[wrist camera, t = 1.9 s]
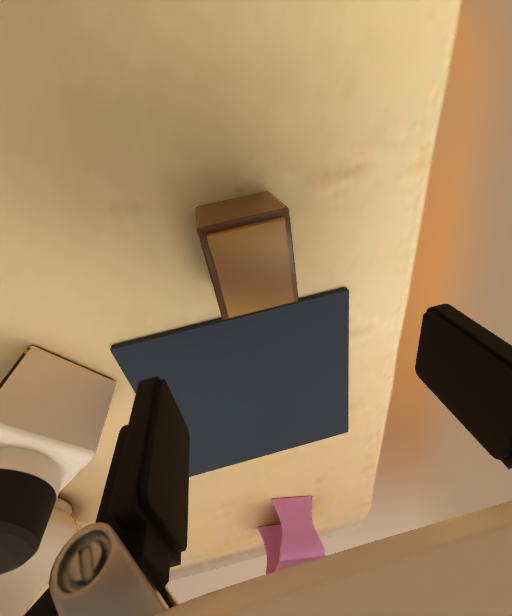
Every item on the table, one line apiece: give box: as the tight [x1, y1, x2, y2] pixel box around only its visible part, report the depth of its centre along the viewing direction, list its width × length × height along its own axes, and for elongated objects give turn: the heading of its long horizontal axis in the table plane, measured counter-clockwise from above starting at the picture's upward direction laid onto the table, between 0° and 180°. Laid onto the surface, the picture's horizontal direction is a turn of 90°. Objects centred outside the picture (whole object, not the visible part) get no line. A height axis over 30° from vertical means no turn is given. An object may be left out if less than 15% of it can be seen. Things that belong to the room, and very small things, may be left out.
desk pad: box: [110, 287, 349, 477], centre depth 29 cm, size 20×20×1 cm
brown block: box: [196, 191, 298, 320], centre depth 19 cm, size 6×5×6 cm
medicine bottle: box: [0, 346, 116, 575], centre depth 20 cm, size 7×7×12 cm
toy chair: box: [258, 496, 325, 574], centre depth 38 cm, size 8×9×15 cm
